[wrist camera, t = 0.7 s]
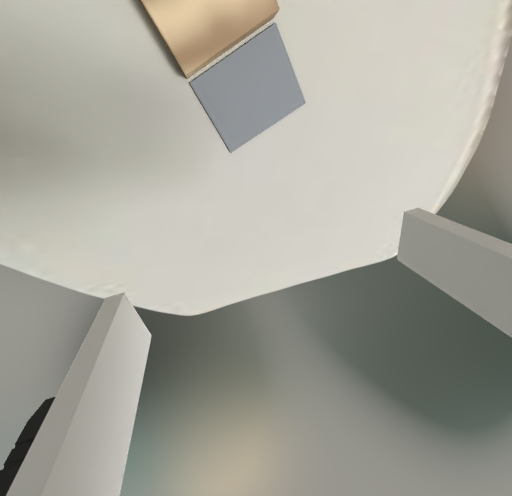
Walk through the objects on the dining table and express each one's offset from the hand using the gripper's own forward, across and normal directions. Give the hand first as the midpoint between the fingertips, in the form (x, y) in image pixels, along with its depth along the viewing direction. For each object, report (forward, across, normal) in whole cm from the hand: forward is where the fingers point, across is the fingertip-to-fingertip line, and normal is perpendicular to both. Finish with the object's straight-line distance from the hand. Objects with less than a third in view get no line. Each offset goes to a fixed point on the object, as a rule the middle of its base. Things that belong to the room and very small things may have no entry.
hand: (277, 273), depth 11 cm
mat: (+26, +6, +8) cm, 28 cm away
